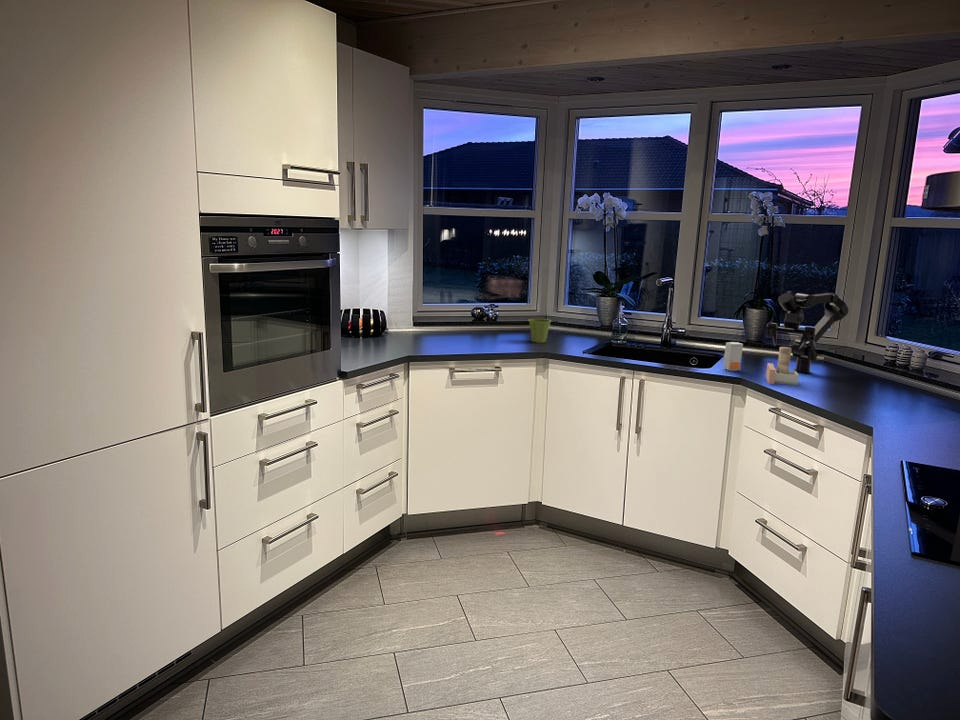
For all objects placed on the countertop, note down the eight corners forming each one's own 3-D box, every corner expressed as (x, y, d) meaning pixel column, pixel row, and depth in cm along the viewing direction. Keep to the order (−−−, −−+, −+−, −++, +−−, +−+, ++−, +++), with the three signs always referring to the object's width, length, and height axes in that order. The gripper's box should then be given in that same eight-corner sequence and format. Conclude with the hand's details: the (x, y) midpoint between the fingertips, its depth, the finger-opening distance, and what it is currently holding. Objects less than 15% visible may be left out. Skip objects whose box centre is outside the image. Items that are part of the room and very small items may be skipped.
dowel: (779, 377, 279) (783, 346, 277) (789, 379, 276) (793, 348, 273) (773, 378, 277) (777, 347, 274) (783, 380, 273) (787, 349, 271)
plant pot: (540, 339, 355) (541, 318, 353) (554, 343, 346) (556, 321, 344) (522, 340, 349) (523, 319, 346) (536, 344, 339) (538, 322, 337)
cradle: (771, 378, 282) (772, 369, 281) (794, 380, 279) (796, 371, 278) (773, 382, 274) (774, 373, 273) (797, 385, 271) (798, 375, 270)
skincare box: (728, 370, 295) (731, 343, 292) (722, 368, 299) (725, 342, 296) (740, 370, 296) (743, 343, 294) (734, 368, 300) (737, 342, 298)
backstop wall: (765, 377, 285) (767, 363, 284) (770, 377, 284) (772, 363, 283) (768, 384, 272) (770, 369, 271) (773, 384, 271) (775, 370, 270)
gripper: (769, 303, 286) (762, 332, 279) (818, 308, 277) (812, 338, 270) (770, 320, 295) (763, 348, 287) (817, 325, 285) (811, 354, 278)
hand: (786, 347), depth 281 cm, fingers open, 9 cm apart
